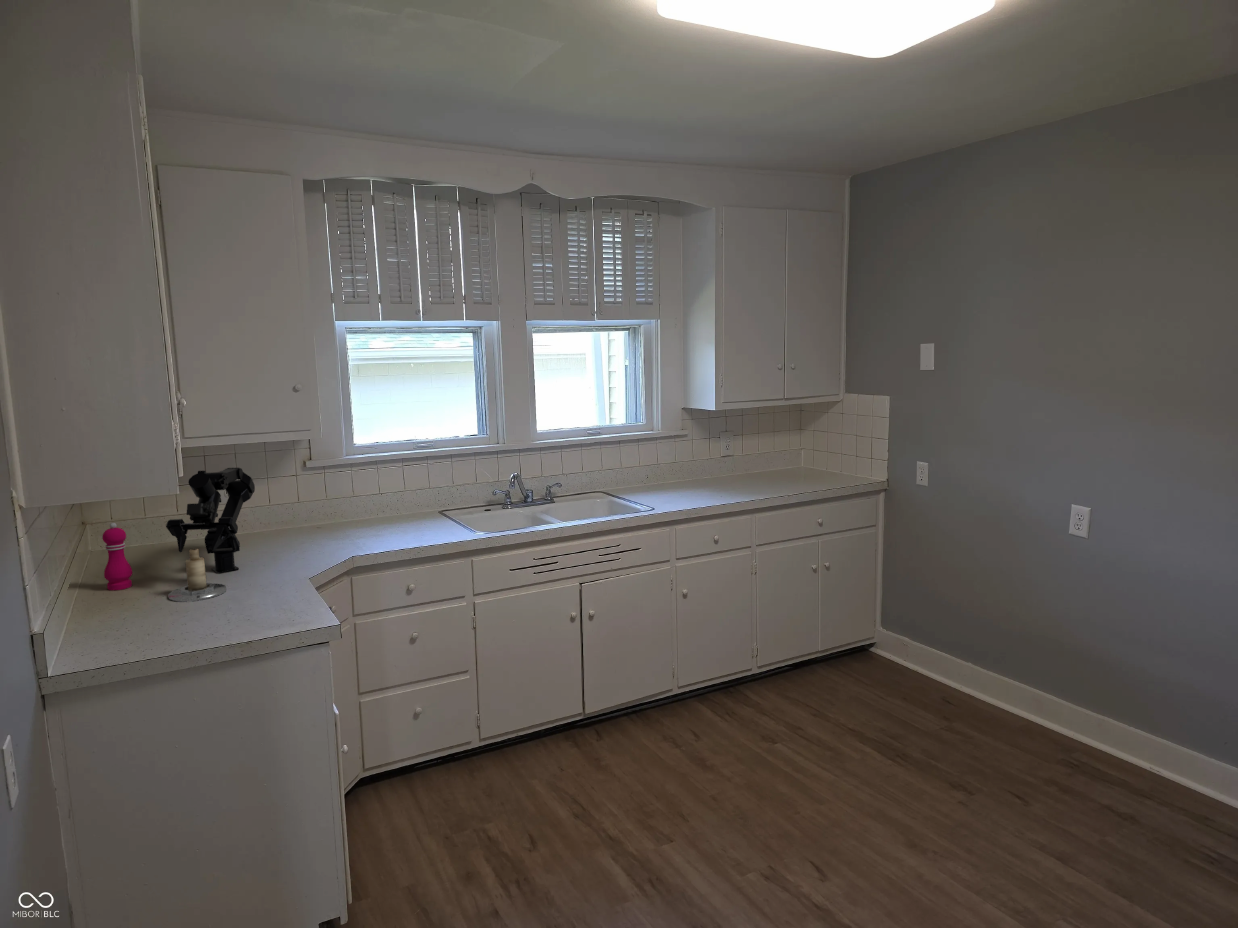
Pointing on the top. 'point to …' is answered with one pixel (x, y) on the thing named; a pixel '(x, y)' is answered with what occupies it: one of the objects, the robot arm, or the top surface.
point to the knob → (195, 571)
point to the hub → (197, 593)
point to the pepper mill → (116, 559)
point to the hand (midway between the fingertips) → (196, 550)
